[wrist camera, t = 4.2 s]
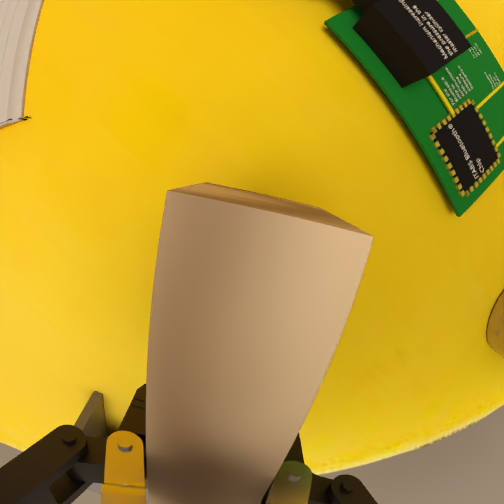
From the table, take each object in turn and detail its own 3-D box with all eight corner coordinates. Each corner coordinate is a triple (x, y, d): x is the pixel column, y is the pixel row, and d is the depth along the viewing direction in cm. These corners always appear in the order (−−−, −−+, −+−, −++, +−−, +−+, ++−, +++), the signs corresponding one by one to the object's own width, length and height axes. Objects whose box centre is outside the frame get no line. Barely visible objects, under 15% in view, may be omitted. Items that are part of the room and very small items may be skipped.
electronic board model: (567, 133, 13) (500, 229, 16) (522, 133, 20) (448, 213, 22) (364, -120, 7) (228, -94, 9) (347, -84, 14) (231, -45, 16)
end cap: (194, 418, 27) (184, 480, 19) (186, 463, 29) (178, 515, 21) (94, 391, 26) (64, 442, 18) (101, 439, 28) (80, 486, 21)
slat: (318, 207, 10) (373, 236, 6) (228, 492, 15) (224, 554, 10) (206, 182, 10) (167, 190, 5) (166, 481, 15) (153, 542, 10)
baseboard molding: (93, -90, 12) (20, -55, 12) (85, -101, 9) (10, -62, 9) (37, 118, 20) (-33, 145, 20) (18, 114, 17) (-51, 145, 17)
